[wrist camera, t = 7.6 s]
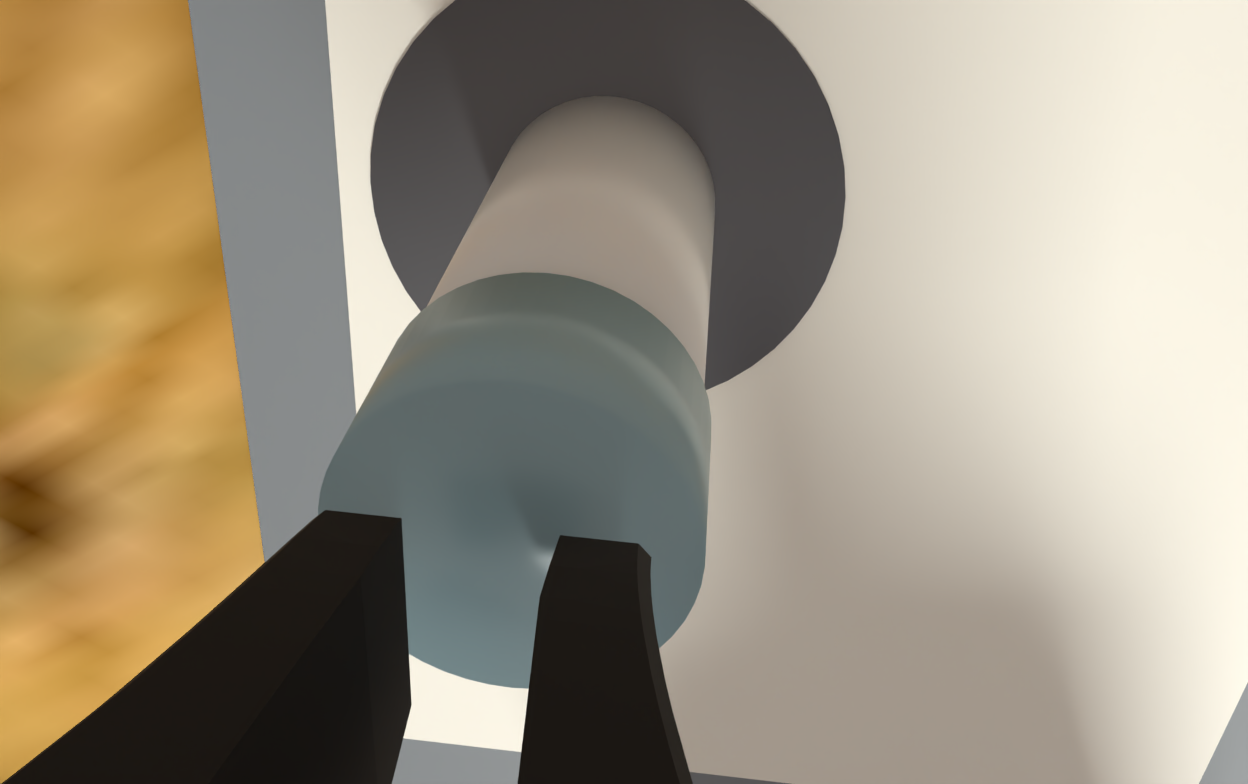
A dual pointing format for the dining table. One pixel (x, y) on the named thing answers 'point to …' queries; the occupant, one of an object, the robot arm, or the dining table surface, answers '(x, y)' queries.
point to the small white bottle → (549, 389)
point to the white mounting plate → (825, 352)
